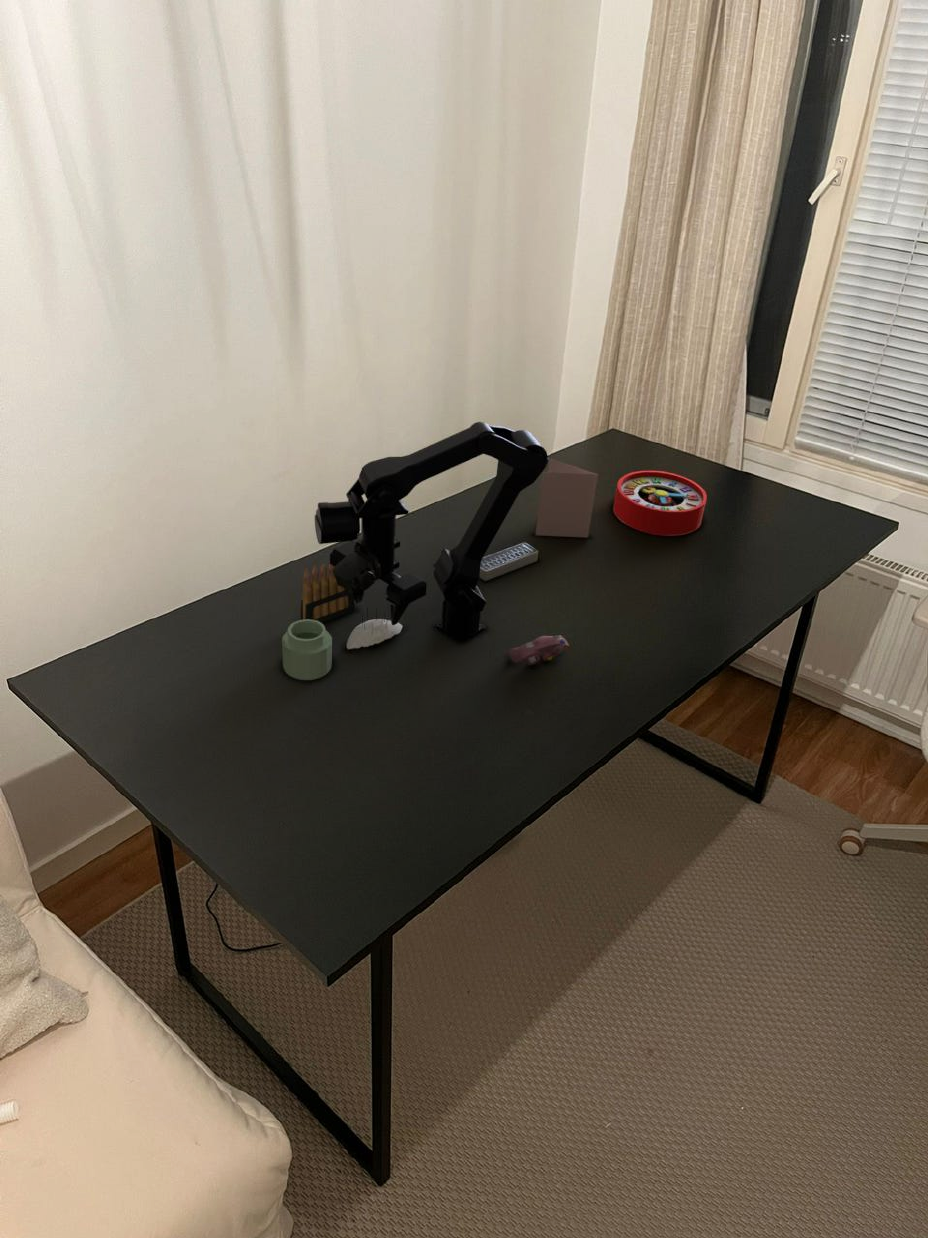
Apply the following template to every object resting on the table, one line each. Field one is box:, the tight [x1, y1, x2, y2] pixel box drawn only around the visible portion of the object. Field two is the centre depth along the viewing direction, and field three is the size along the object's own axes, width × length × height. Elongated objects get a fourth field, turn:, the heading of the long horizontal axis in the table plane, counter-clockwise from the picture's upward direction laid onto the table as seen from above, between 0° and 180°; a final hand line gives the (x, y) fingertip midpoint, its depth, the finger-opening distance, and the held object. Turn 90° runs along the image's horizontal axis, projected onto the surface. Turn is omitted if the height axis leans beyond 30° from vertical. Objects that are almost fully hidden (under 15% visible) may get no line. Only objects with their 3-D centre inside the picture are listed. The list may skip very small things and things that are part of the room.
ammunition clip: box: [300, 562, 356, 624], centre depth 181 cm, size 11×2×12 cm, turn 129°
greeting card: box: [535, 458, 599, 538], centre depth 212 cm, size 11×7×15 cm, turn 58°
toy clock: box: [612, 470, 708, 537], centre depth 225 cm, size 20×6×20 cm
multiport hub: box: [479, 542, 539, 582], centre depth 203 cm, size 4×14×2 cm, turn 130°
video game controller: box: [508, 634, 570, 666], centre depth 176 cm, size 10×5×7 cm
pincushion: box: [346, 607, 403, 650], centre depth 178 cm, size 12×6×6 cm, turn 130°
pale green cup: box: [281, 619, 333, 681], centre depth 170 cm, size 8×8×8 cm
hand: (376, 613), depth 176 cm, fingers open, 9 cm apart
